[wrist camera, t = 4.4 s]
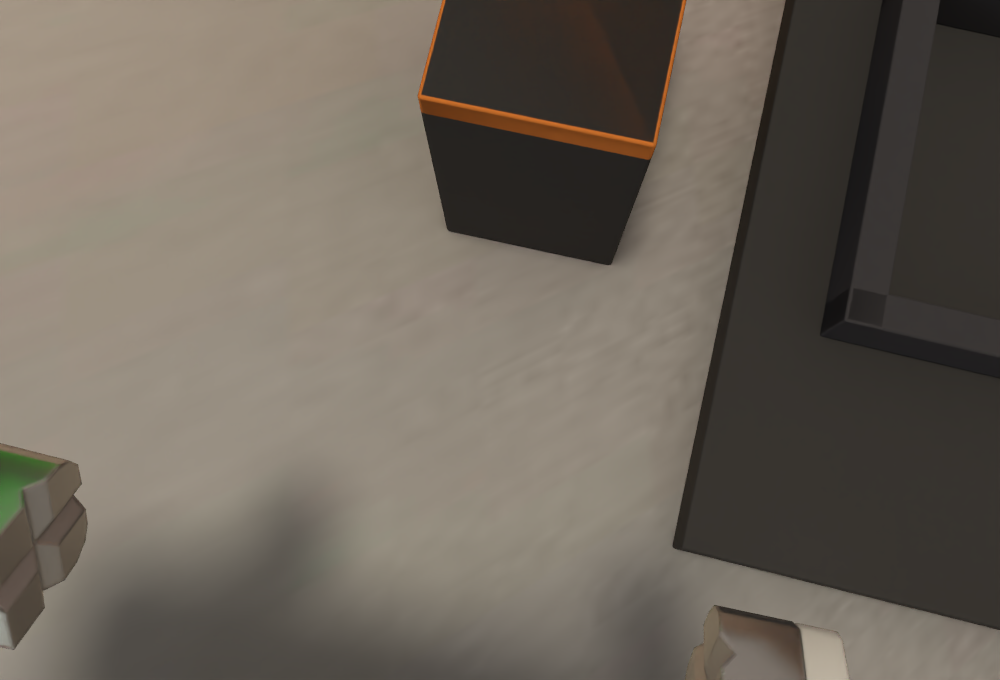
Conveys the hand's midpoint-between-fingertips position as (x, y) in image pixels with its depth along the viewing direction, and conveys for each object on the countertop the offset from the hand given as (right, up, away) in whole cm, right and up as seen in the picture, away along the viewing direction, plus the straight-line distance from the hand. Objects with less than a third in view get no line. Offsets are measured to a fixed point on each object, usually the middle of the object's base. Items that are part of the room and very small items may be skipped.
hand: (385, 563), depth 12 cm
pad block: (+3, +9, +17) cm, 19 cm away
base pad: (+15, +4, +16) cm, 22 cm away
